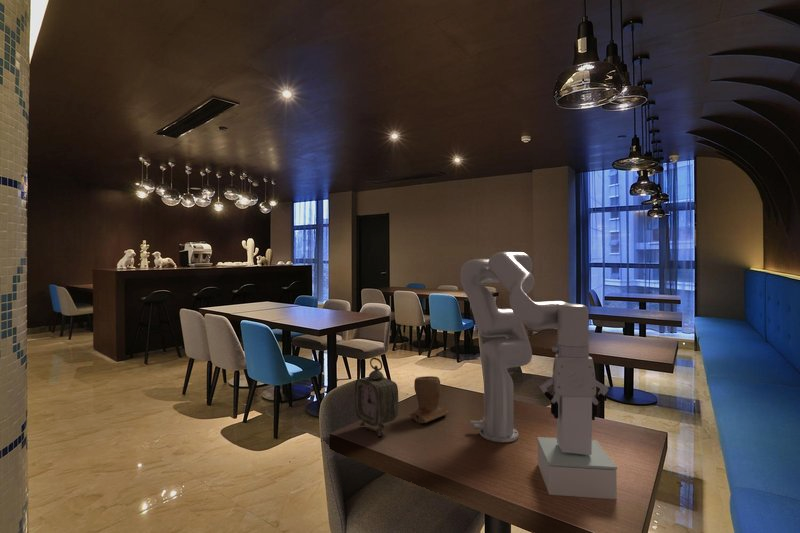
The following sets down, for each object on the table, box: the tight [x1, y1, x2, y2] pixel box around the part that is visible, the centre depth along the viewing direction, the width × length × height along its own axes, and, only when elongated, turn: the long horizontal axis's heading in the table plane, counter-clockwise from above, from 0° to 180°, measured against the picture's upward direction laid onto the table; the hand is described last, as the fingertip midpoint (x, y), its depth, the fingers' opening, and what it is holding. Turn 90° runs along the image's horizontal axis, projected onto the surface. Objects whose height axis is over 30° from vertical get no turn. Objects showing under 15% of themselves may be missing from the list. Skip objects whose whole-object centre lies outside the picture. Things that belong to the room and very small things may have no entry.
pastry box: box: [537, 441, 618, 500], centre depth 109 cm, size 16×16×7 cm
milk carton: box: [556, 396, 593, 455], centre depth 109 cm, size 7×7×19 cm
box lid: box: [536, 436, 618, 471], centre depth 109 cm, size 16×16×1 cm
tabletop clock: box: [354, 357, 400, 437], centre depth 143 cm, size 14×9×25 cm, turn 38°
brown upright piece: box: [409, 375, 449, 424], centre depth 155 cm, size 15×12×15 cm
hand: (573, 417), depth 109 cm, fingers open, 8 cm apart
